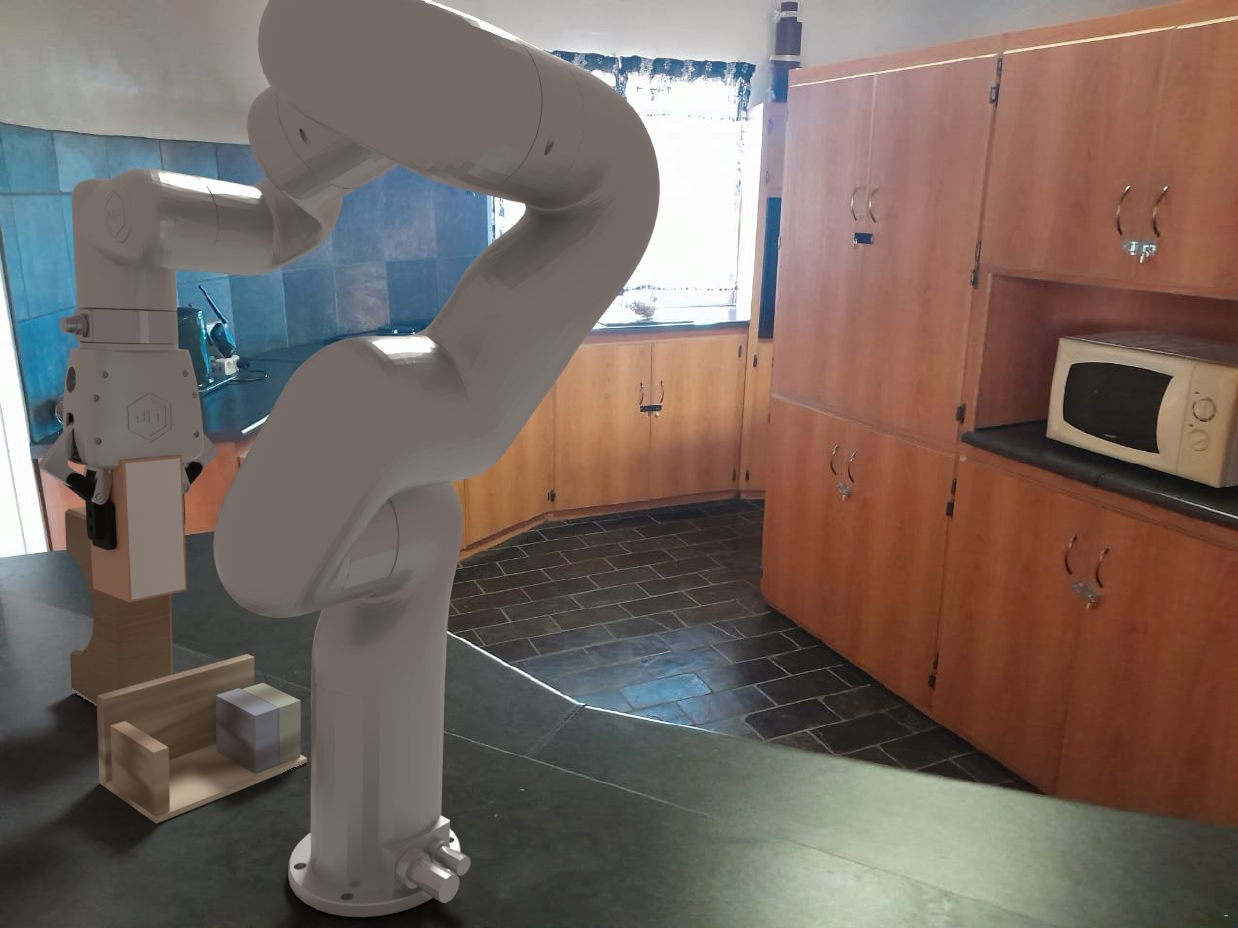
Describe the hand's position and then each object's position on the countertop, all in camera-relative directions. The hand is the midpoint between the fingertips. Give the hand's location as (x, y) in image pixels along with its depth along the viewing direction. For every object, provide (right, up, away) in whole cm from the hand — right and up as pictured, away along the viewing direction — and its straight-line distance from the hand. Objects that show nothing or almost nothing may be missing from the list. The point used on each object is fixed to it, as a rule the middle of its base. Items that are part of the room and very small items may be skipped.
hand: (138, 539), depth 81 cm
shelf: (+6, -21, +2) cm, 22 cm away
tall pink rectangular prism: (0, -4, +1) cm, 4 cm away
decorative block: (-10, -18, +16) cm, 26 cm away
